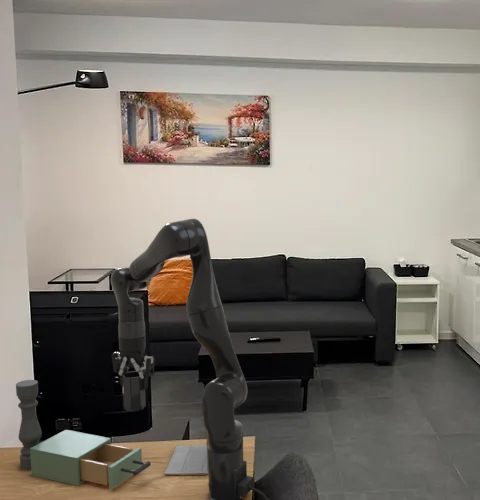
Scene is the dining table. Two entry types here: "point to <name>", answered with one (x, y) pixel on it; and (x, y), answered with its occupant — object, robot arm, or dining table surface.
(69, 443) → the cabinet
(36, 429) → the candle holder
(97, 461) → the drawer
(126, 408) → the tumbler
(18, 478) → the dining table surface
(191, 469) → the laptop
